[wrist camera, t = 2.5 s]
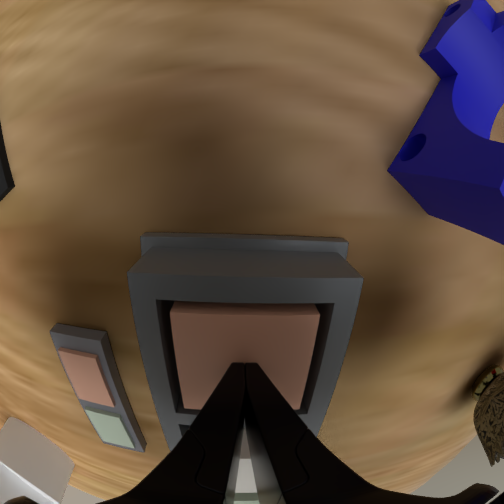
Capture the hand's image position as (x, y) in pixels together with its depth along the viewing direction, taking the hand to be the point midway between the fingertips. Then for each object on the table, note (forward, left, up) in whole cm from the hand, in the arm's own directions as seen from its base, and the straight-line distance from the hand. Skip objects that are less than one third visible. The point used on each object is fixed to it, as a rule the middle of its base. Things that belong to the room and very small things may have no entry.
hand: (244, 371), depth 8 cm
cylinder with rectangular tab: (-29, +4, -3) cm, 29 cm away
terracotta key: (0, 0, -2) cm, 2 cm away
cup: (+7, -21, -3) cm, 22 cm away
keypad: (-5, -4, -3) cm, 7 cm away
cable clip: (+15, 0, -3) cm, 15 cm away
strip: (-10, +2, -3) cm, 10 cm away
